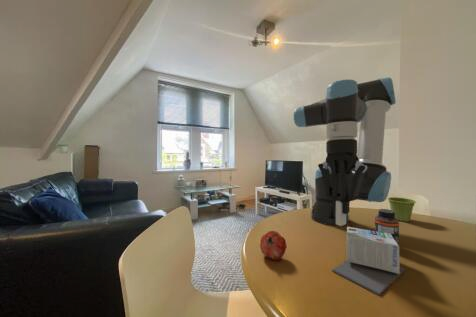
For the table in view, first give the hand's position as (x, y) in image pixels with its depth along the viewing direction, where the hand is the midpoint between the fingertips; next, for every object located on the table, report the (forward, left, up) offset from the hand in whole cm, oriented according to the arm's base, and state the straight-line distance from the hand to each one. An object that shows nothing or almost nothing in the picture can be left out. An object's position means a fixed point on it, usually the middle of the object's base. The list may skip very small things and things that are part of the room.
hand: (340, 224), depth 54 cm
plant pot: (-1, +52, -10) cm, 53 cm away
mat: (+7, 0, -10) cm, 12 cm away
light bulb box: (+1, +2, -5) cm, 6 cm away
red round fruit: (-11, -15, -10) cm, 21 cm away
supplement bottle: (+5, +18, -10) cm, 21 cm away
